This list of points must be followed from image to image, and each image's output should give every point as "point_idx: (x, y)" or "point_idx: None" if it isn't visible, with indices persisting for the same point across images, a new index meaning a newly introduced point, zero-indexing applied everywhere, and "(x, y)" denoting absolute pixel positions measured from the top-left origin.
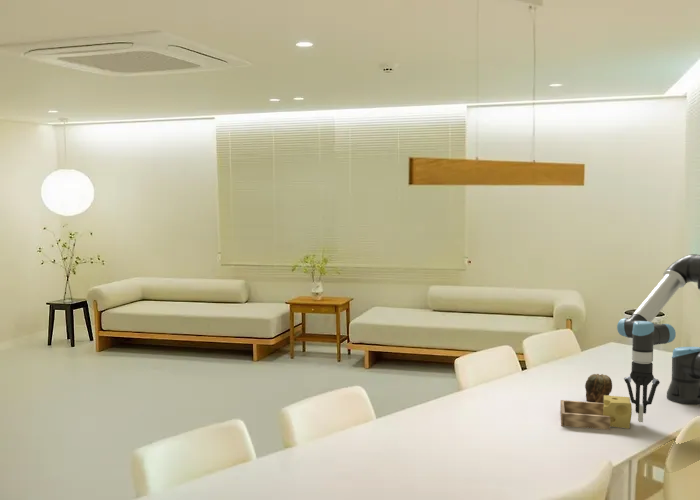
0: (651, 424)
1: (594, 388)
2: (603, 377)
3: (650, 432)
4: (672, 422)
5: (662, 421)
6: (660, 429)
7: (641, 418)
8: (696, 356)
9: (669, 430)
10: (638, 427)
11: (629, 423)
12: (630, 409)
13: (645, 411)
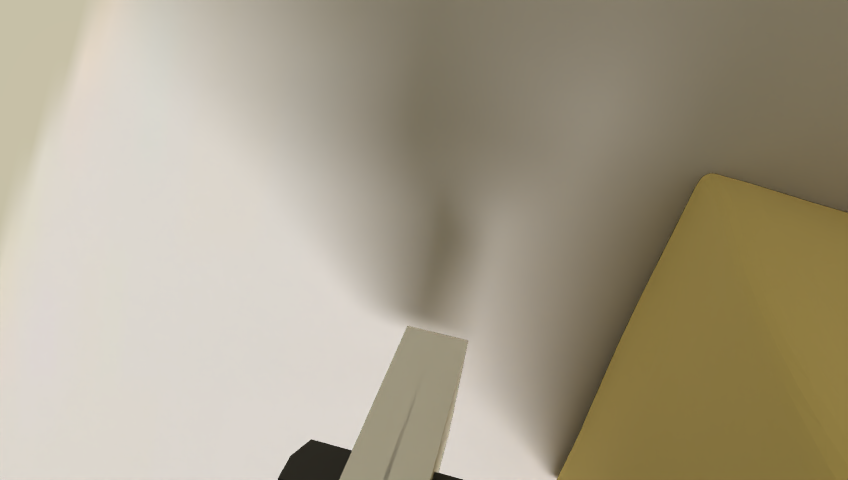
0: (283, 364)
1: None
2: None
3: (381, 2)
4: (46, 415)
5: (143, 450)
6: (201, 169)
7: (417, 370)
8: None
9: (88, 131)
10: (504, 249)
11: (733, 195)
12: (839, 388)
13: (297, 472)
